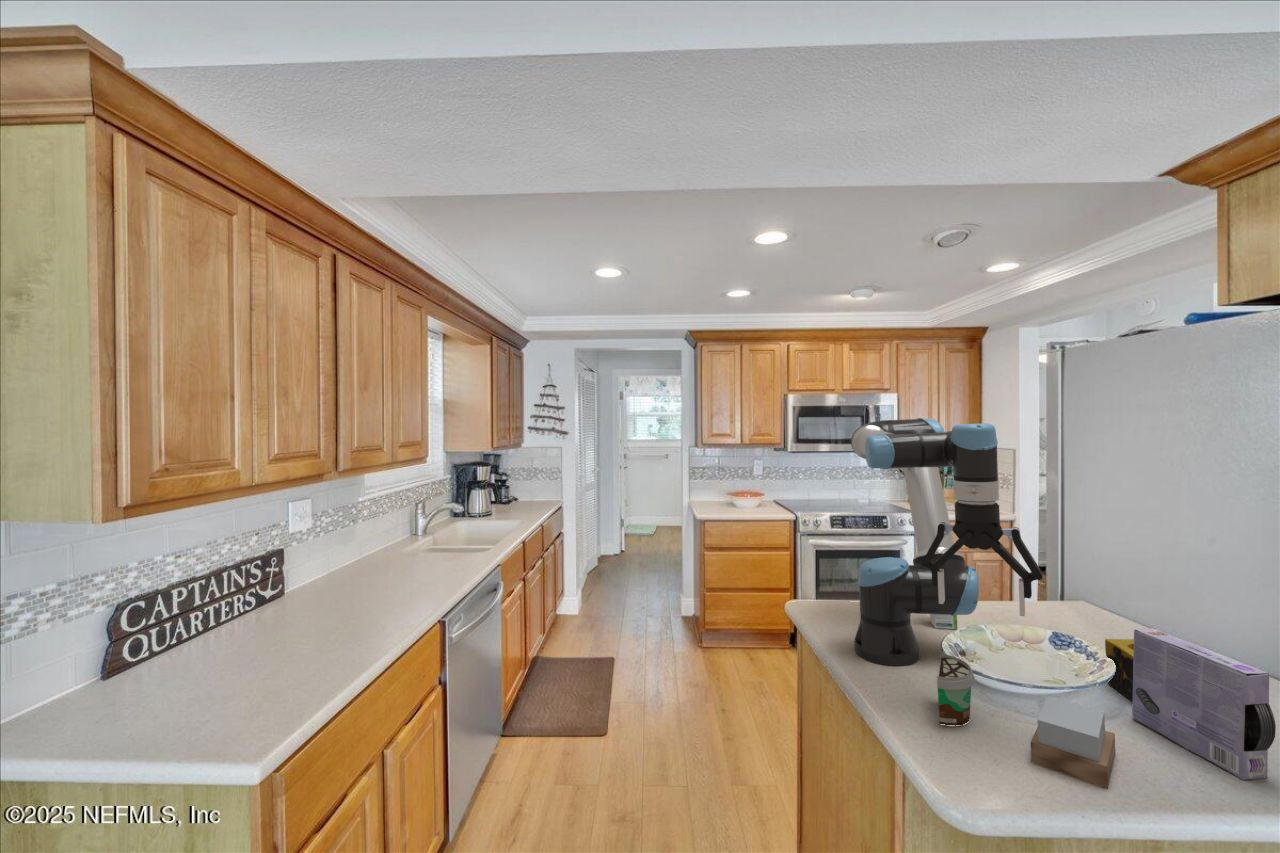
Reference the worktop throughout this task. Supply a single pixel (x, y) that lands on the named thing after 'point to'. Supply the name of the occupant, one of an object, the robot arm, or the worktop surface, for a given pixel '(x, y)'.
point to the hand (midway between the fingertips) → (980, 607)
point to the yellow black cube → (1121, 665)
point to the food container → (954, 690)
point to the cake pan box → (1203, 702)
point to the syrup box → (944, 621)
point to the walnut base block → (1077, 761)
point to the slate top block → (1072, 728)
